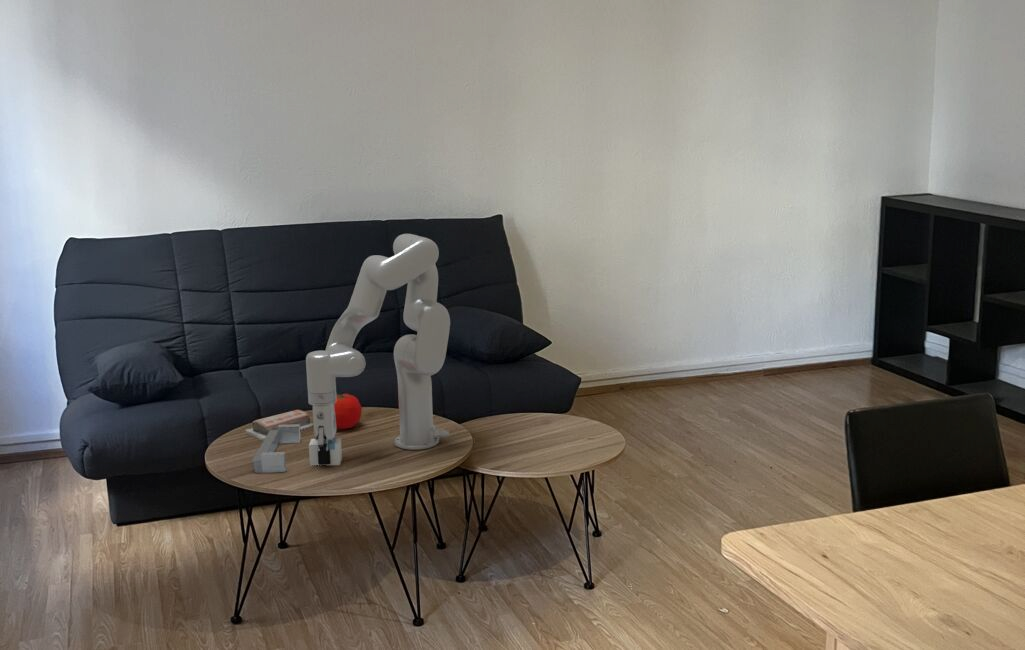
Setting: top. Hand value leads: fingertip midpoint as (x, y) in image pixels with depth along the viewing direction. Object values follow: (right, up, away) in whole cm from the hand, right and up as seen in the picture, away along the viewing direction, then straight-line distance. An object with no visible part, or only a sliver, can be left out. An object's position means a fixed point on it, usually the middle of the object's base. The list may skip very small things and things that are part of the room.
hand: (326, 459), depth 296 cm
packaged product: (-19, +5, +29) cm, 35 cm away
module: (0, -1, 0) cm, 1 cm away
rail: (-14, 0, +6) cm, 16 cm away
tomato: (0, +6, +30) cm, 31 cm away
